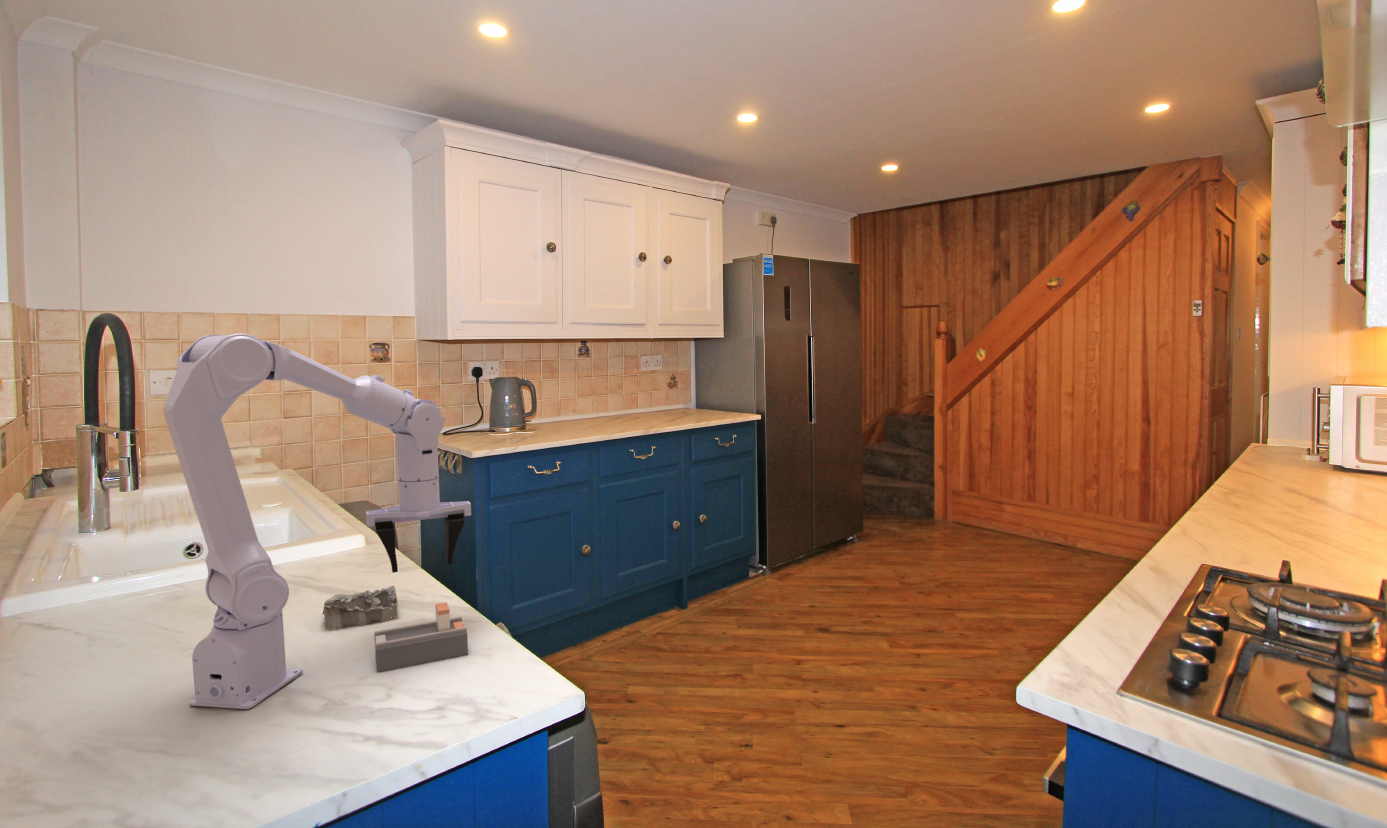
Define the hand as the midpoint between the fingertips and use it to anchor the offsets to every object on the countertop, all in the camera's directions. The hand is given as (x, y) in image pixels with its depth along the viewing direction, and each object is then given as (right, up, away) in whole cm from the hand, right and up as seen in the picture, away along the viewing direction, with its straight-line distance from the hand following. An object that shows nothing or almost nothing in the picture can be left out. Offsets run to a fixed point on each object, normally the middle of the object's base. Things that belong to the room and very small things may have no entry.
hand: (422, 566), depth 103 cm
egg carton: (-12, -10, +5) cm, 16 cm away
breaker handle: (+6, -7, -8) cm, 12 cm away
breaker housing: (+3, -10, -9) cm, 14 cm away
